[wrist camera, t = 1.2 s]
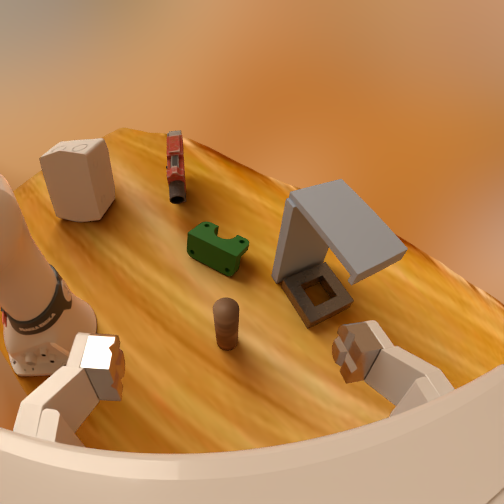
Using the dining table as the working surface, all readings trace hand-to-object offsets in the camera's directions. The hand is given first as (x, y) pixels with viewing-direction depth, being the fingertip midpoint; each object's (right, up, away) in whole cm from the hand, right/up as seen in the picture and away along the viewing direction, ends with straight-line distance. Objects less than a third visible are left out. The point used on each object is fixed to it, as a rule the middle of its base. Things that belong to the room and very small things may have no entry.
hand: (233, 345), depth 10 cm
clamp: (-6, +2, +52) cm, 52 cm away
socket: (+13, -5, +46) cm, 48 cm away
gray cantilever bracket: (+13, -5, +46) cm, 48 cm away
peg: (-4, -12, +40) cm, 42 cm away
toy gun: (-18, +18, +63) cm, 68 cm away
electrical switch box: (-42, +17, +60) cm, 76 cm away
